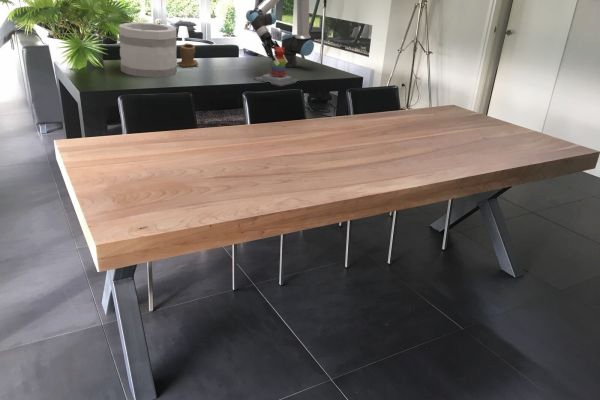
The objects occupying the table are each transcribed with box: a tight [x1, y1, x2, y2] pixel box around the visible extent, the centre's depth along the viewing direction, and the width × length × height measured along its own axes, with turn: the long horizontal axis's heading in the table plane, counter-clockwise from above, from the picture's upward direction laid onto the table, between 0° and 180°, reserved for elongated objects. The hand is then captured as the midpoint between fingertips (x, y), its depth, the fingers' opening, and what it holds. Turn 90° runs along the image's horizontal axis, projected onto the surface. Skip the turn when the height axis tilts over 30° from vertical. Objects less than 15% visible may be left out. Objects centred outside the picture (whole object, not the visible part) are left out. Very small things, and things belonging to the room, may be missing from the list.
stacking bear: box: [269, 46, 287, 76], centre depth 331 cm, size 11×10×18 cm
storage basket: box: [118, 22, 178, 78], centre depth 319 cm, size 35×35×27 cm
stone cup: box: [177, 43, 199, 68], centre depth 346 cm, size 15×12×15 cm
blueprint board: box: [253, 73, 300, 87], centre depth 336 cm, size 22×22×3 cm
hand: (282, 63), depth 330 cm, fingers closed on stacking bear, 9 cm apart
